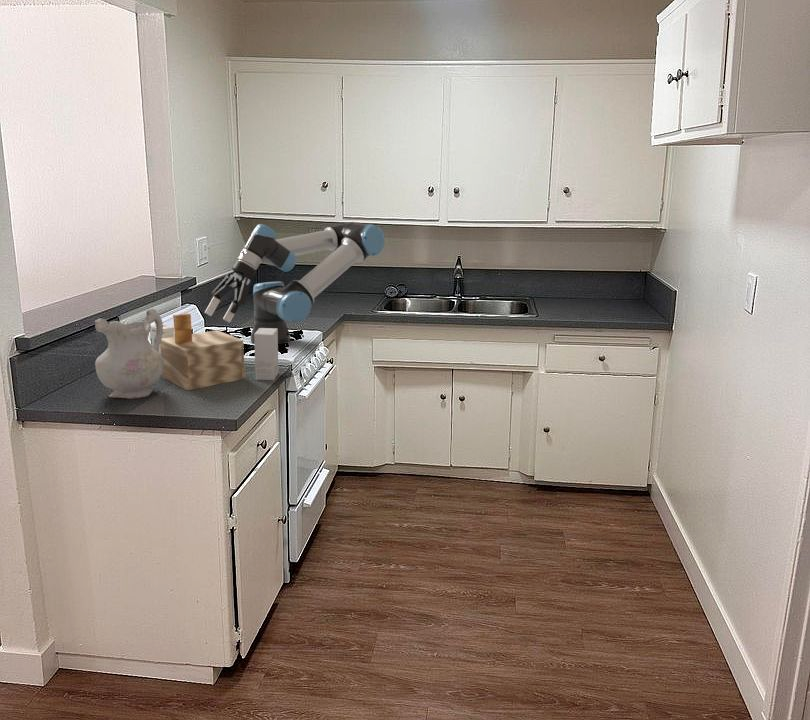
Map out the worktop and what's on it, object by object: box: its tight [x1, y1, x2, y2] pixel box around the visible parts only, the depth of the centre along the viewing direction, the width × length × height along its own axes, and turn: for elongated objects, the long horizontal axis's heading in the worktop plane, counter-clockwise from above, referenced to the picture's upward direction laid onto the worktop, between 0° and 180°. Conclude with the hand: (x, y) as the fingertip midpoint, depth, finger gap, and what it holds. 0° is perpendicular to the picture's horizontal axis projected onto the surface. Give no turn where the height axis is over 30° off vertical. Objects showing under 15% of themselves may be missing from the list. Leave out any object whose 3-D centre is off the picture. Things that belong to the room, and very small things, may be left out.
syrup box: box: [149, 324, 175, 354], centre depth 256 cm, size 6×6×14 cm
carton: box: [160, 342, 246, 391], centre depth 246 cm, size 20×18×12 cm
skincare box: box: [253, 328, 279, 381], centre depth 247 cm, size 8×7×16 cm
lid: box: [161, 312, 244, 353], centre depth 243 cm, size 20×18×10 cm
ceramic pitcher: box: [94, 308, 164, 400], centre depth 229 cm, size 22×20×25 cm
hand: (216, 317), depth 264 cm, fingers open, 13 cm apart
